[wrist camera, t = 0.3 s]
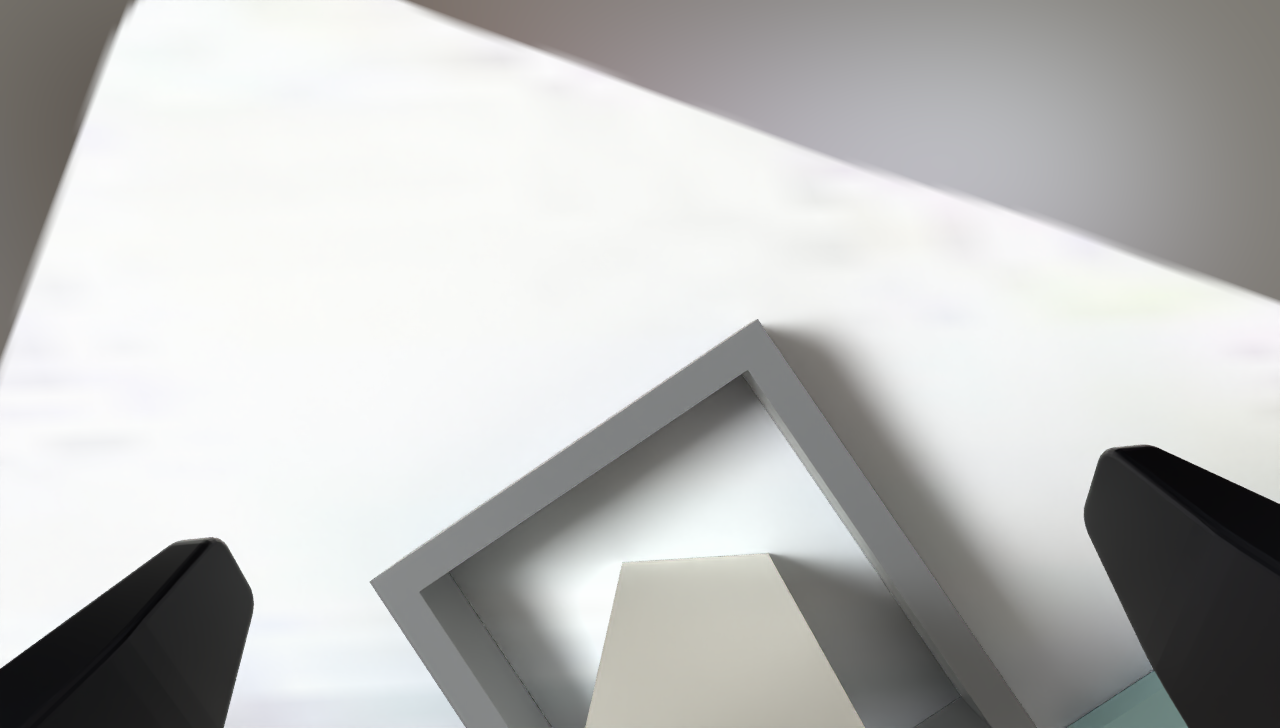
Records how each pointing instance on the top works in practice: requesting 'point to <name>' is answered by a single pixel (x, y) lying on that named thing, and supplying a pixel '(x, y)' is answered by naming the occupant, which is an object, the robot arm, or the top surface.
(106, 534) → the top surface
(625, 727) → the block
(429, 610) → the gray square frame
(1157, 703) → the teal mat
